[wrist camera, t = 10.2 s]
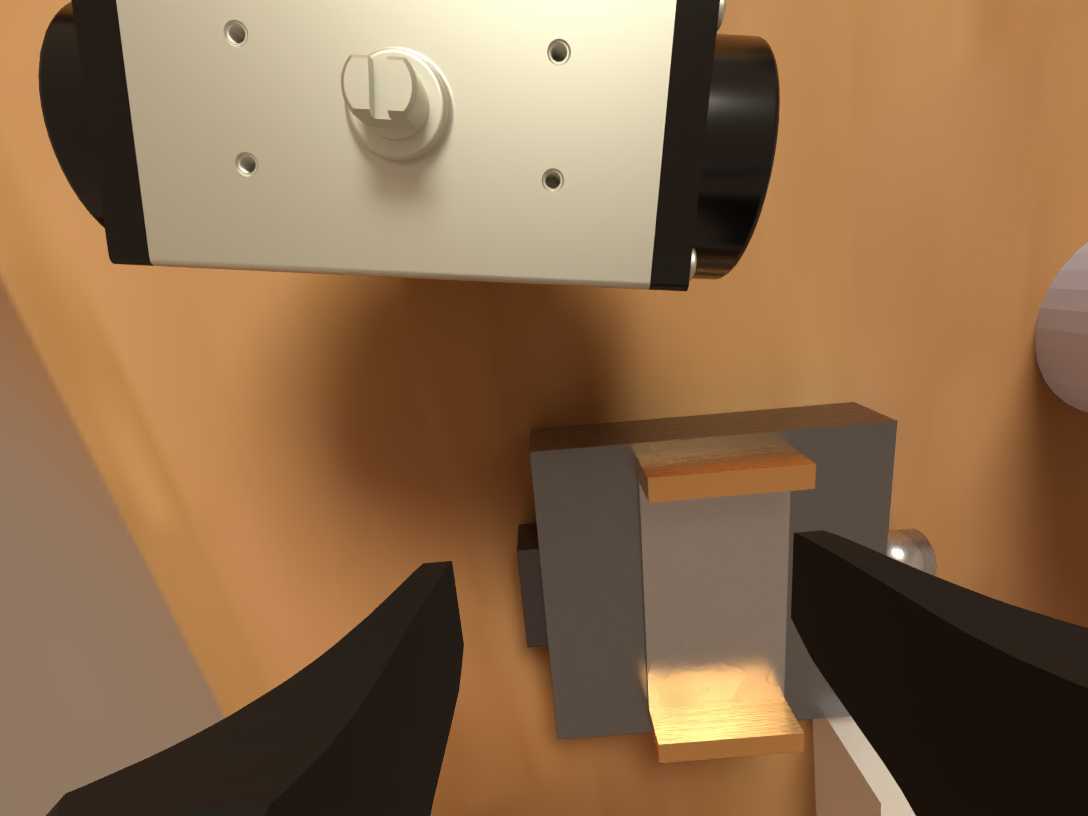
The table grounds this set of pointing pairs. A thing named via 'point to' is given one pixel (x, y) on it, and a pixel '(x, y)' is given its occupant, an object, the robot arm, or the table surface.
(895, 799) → the block
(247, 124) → the pneumatic valve
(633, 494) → the motor housing
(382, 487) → the table surface
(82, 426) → the table surface
